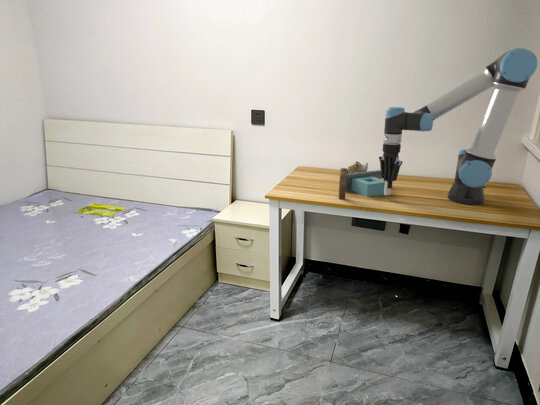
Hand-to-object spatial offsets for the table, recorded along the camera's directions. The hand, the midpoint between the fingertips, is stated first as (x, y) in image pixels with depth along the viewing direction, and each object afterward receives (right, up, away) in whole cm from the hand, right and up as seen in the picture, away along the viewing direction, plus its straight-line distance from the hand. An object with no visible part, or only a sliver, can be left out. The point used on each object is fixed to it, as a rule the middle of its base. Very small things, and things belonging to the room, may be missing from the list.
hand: (387, 194), depth 181 cm
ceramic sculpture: (-6, +11, +41) cm, 43 cm away
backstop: (-8, +3, +17) cm, 20 cm away
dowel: (-20, -2, +1) cm, 21 cm away
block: (-5, +1, +11) cm, 13 cm away
